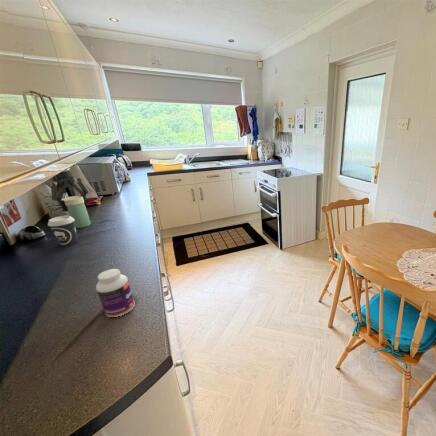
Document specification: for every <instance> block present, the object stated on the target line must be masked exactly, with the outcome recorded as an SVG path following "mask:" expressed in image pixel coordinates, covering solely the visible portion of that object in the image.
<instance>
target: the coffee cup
mask: <svg viewBox="0 0 436 436" xmlns="http://www.w3.org/2000/svg"><path fill="white" fill-rule="evenodd" d="M74 221H75V220H74V218H72V217H71V216H68V215H60V216H54V217H52V218H50V219H48V222H47V227H49V228H51V231H52V232H53V234H54V236H55V238H56V239H57V241H58V243H59V245H60V246H61V247H66V246H68V247H69V246H72V245H75V244H77V243H78V242H79V237H78V232H77V228H75V224H74Z"/></svg>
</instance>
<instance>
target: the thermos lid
mask: <svg viewBox="0 0 436 436" xmlns="http://www.w3.org/2000/svg"><path fill="white" fill-rule="evenodd" d="M62 200H64V203H65V205H66V206H70V205H77V204H81V203H83V202H84V199H83V197H82V196H80V195H72V196H67V197H62Z"/></svg>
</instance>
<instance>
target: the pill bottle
mask: <svg viewBox="0 0 436 436" xmlns="http://www.w3.org/2000/svg"><path fill="white" fill-rule="evenodd" d="M97 280H98V282H97V283H96V285H95V291H96V293H97V295H98V299H99V300H100V303H101V306H102V309H103V311H104V314H105V315H106V316H107V318H110V317H117V318H119V317H118V316H120V317H123V316H125V315H127V314H128V312H129V311H130V312H131V311H132V310H133V309H134V308H135V305H136V302H135V299H134V295H133V292H132V289H131V286H130V283H129V279H128V277H127V276H126V275H125V274H122V273H121V270H120V269H118V268H110V269H107V270H104V271H102V272H100V273H99V274H98V275H97ZM133 307H134V308H133ZM130 312H129V313H130ZM126 313H127V314H126ZM124 314H125V315H124ZM122 315H123V316H122Z"/></svg>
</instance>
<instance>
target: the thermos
mask: <svg viewBox="0 0 436 436" xmlns="http://www.w3.org/2000/svg"><path fill="white" fill-rule="evenodd" d="M66 208H67V210H68V211H67V212H66V211H65V213H66V216H71V217H72V218H74V220H75V221H74V224H75V228H76V229H80V228H85V227H88V226H90V225H92V221H91V218H90V216H89V213H88V209H87V206H85V204H84V202H83V203H81V204H77V205H70V206H66Z"/></svg>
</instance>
